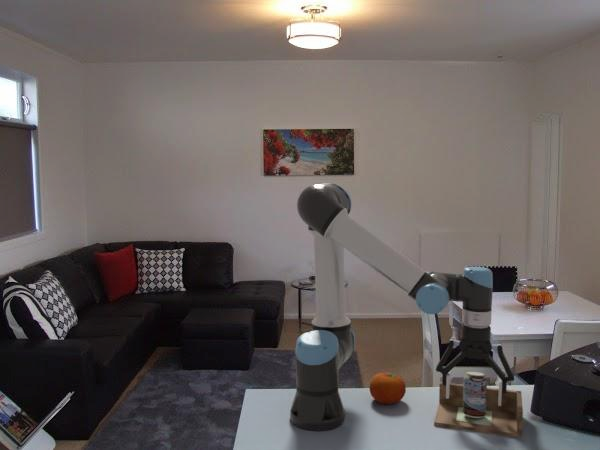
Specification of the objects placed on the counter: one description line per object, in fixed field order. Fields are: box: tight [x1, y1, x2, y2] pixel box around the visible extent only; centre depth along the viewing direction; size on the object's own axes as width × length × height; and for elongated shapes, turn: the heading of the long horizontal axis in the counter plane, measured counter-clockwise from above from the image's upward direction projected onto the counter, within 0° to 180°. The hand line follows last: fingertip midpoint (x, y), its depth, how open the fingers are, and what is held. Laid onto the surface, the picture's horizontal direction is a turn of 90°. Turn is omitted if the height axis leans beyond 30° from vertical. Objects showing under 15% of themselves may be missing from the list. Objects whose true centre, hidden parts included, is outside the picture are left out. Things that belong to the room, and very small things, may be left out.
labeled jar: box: [463, 371, 488, 418], centre depth 153 cm, size 6×7×12 cm
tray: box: [433, 381, 524, 439], centre depth 153 cm, size 22×14×7 cm, turn 70°
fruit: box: [369, 372, 407, 405], centre depth 166 cm, size 11×10×8 cm
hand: (473, 400), depth 153 cm, fingers open, 13 cm apart
